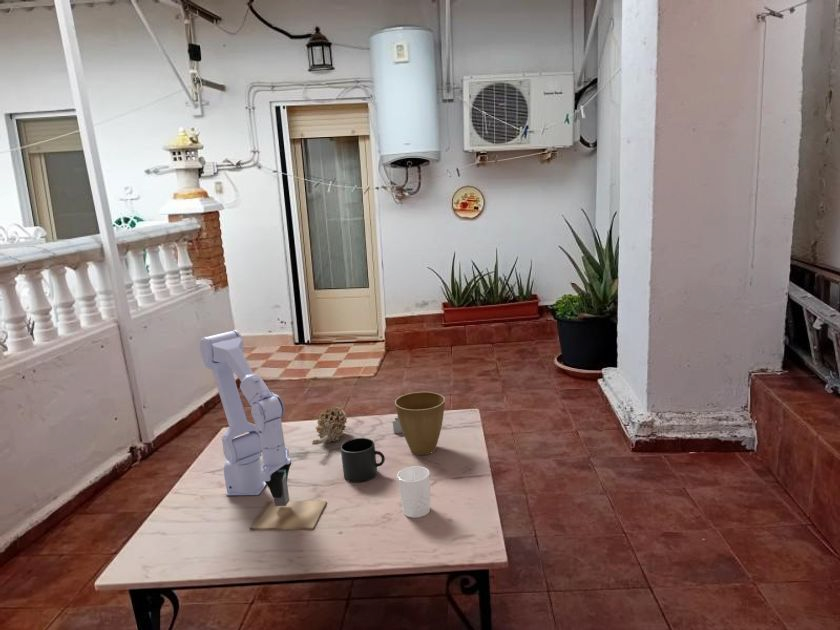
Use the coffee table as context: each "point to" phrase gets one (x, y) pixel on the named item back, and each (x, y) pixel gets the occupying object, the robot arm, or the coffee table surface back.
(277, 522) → the tan rectangular board
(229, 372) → the robot arm
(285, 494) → the teal block
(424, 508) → the white cup
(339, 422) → the pine cone
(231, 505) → the coffee table surface
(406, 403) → the plant pot
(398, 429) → the lighter
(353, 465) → the mug
